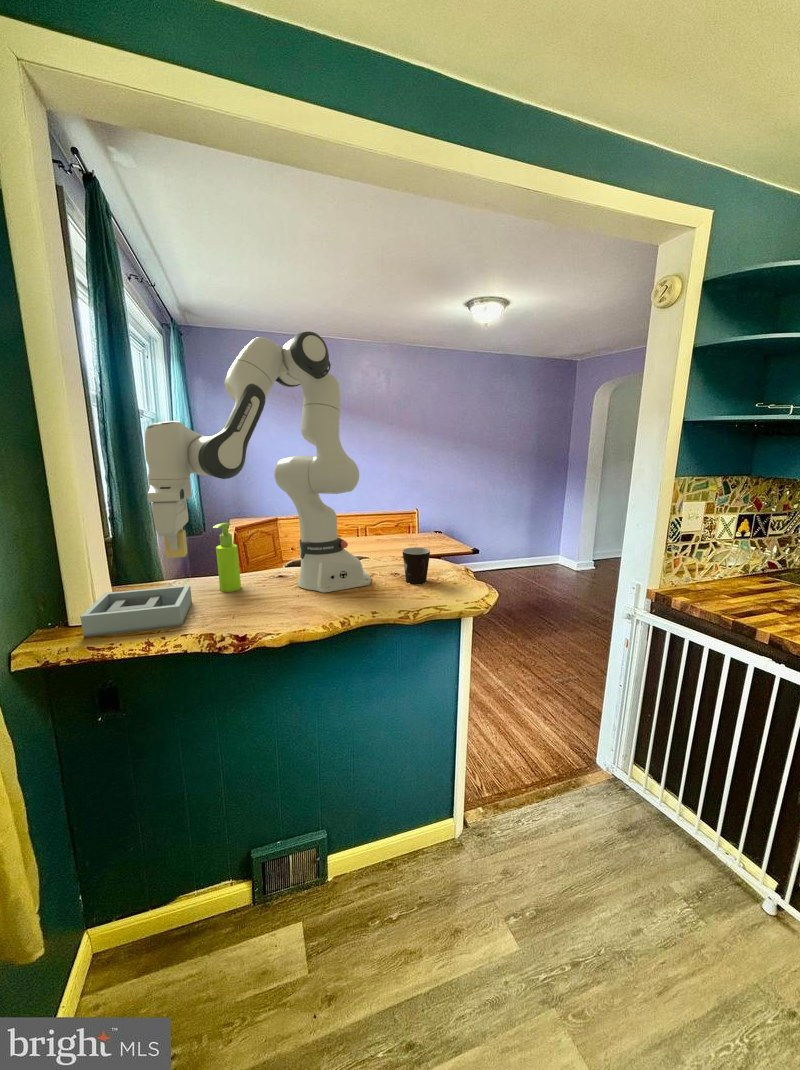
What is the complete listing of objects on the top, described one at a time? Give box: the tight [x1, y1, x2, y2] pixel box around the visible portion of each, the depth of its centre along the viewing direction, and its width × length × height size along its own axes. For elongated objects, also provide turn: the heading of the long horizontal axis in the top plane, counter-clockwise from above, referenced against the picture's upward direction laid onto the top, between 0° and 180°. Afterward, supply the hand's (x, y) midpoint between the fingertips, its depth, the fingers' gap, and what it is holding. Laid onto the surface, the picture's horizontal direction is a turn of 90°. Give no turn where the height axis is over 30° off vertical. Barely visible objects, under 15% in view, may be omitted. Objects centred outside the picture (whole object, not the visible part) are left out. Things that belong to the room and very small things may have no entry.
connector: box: [163, 529, 189, 559], centre depth 104 cm, size 4×4×6 cm
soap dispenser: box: [212, 522, 242, 593], centre depth 125 cm, size 6×7×20 cm
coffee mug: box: [402, 546, 431, 585], centre depth 131 cm, size 12×9×10 cm
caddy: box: [80, 584, 193, 638], centre depth 106 cm, size 20×16×5 cm
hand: (176, 547), depth 104 cm, fingers closed on connector, 4 cm apart
